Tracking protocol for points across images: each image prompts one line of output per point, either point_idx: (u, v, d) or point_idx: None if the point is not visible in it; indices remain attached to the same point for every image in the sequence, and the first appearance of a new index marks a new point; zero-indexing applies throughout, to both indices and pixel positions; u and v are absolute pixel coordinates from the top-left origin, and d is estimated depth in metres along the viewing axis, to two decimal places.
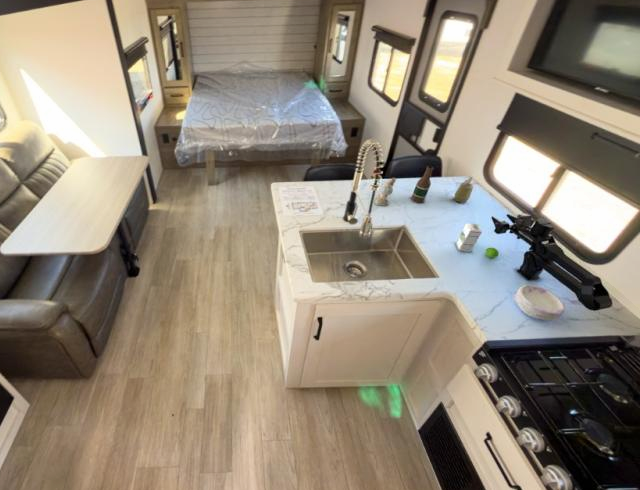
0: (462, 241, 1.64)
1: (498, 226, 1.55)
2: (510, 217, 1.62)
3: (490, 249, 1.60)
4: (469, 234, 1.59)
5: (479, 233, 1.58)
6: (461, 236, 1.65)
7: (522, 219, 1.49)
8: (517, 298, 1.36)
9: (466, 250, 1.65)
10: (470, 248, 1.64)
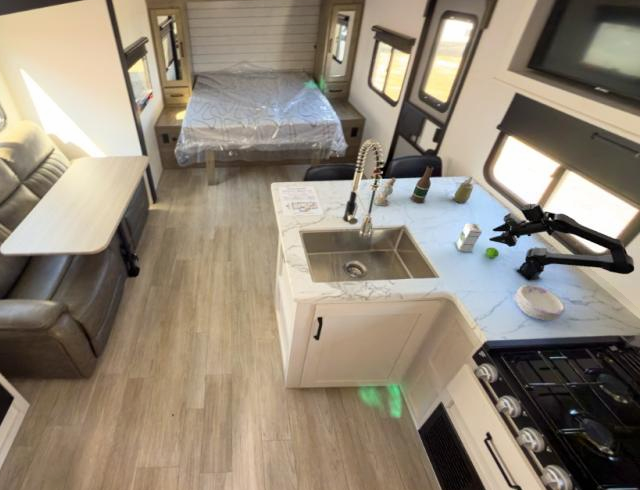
0: (462, 241, 1.64)
1: (507, 239, 1.44)
2: (498, 229, 1.57)
3: (490, 249, 1.60)
4: (469, 234, 1.59)
5: (479, 233, 1.58)
6: (461, 236, 1.65)
7: (512, 219, 1.44)
8: (517, 298, 1.36)
9: (466, 250, 1.65)
10: (470, 248, 1.64)
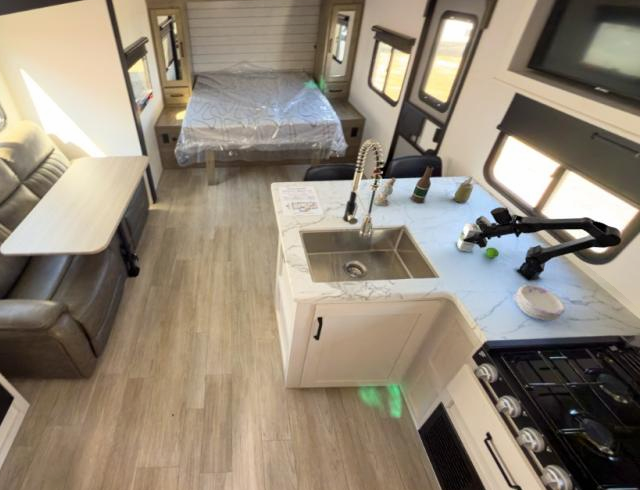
0: (462, 241, 1.64)
1: (478, 241, 1.52)
2: None
3: (490, 249, 1.60)
4: (468, 234, 1.59)
5: None
6: (461, 236, 1.65)
7: (483, 222, 1.53)
8: (517, 298, 1.36)
9: (466, 250, 1.65)
10: (470, 248, 1.64)
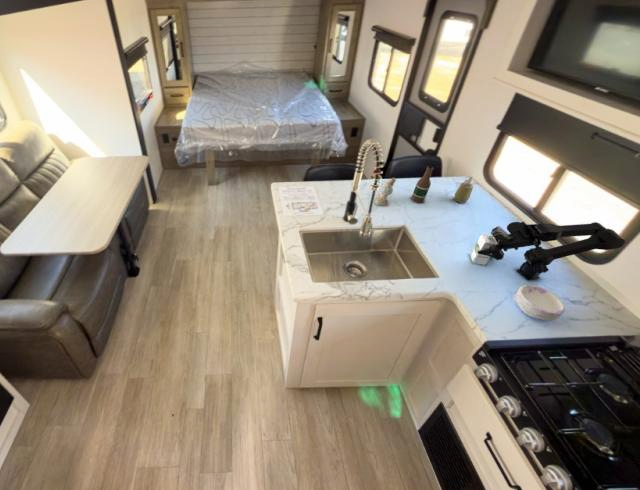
0: (476, 253, 1.57)
1: (494, 253, 1.45)
2: None
3: None
4: (484, 246, 1.52)
5: None
6: (475, 248, 1.58)
7: (499, 233, 1.45)
8: (517, 298, 1.36)
9: (480, 263, 1.58)
10: (485, 261, 1.57)
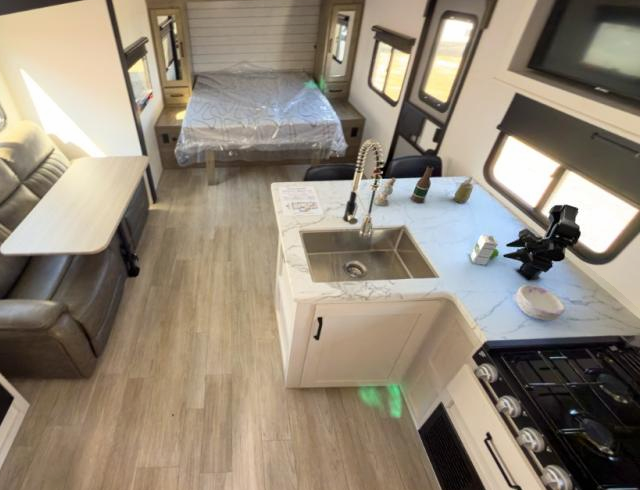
0: (476, 253, 1.57)
1: (522, 256, 1.38)
2: (511, 245, 1.51)
3: None
4: (484, 246, 1.52)
5: (495, 245, 1.51)
6: (475, 248, 1.58)
7: (527, 235, 1.38)
8: (517, 298, 1.36)
9: (480, 263, 1.58)
10: (485, 261, 1.57)
